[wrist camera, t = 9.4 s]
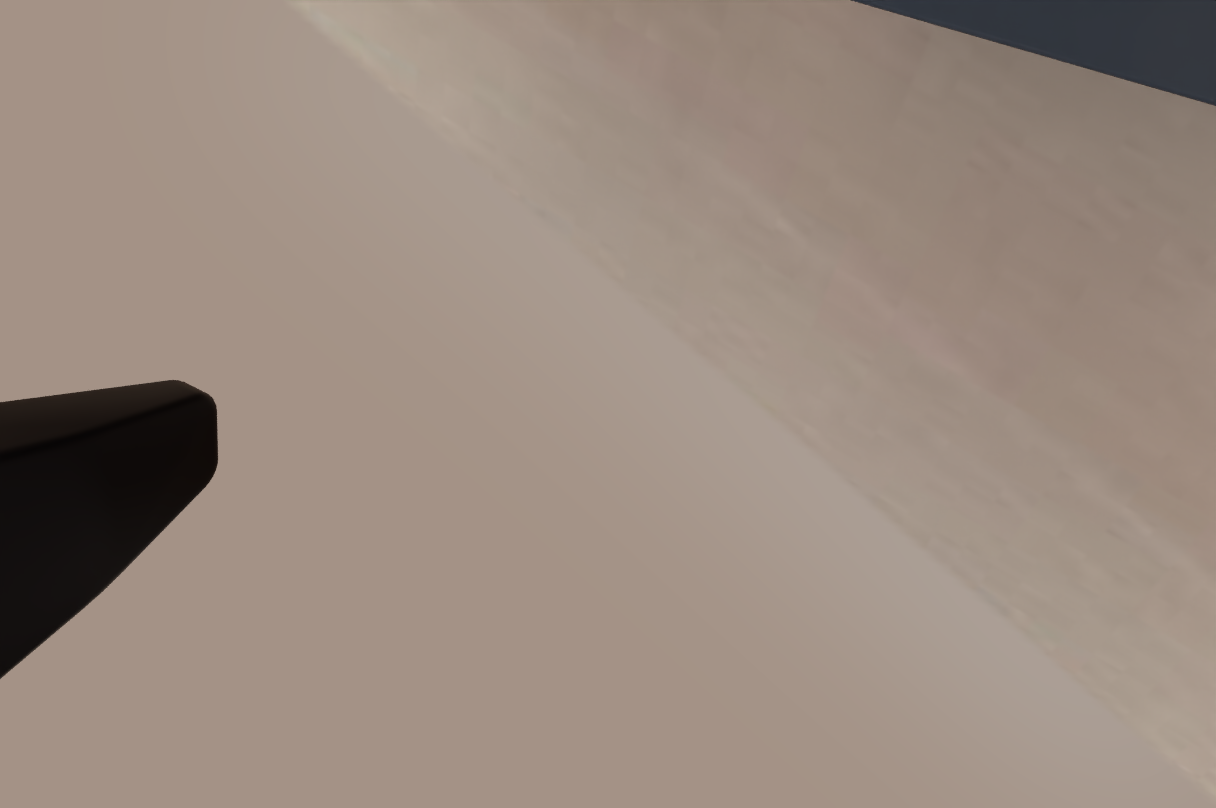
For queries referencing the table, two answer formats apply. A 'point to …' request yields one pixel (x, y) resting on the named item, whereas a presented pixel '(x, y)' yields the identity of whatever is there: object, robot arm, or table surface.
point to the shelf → (1093, 35)
